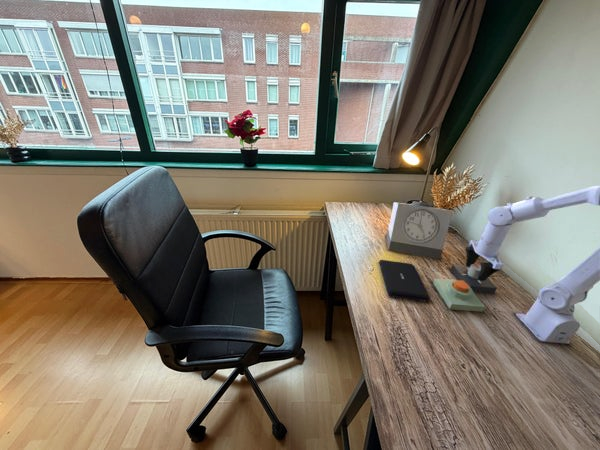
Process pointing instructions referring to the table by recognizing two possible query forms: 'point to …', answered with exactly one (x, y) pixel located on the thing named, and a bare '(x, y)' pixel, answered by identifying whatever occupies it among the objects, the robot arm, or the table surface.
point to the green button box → (457, 296)
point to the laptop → (403, 280)
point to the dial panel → (473, 280)
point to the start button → (461, 286)
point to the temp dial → (474, 271)
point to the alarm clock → (418, 229)
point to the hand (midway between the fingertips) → (474, 272)
